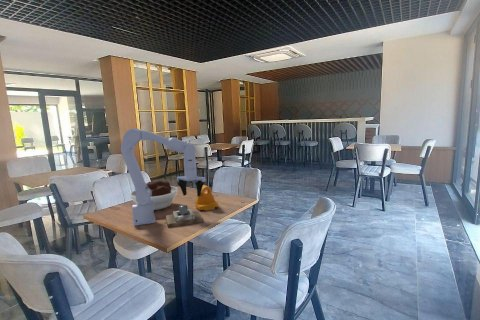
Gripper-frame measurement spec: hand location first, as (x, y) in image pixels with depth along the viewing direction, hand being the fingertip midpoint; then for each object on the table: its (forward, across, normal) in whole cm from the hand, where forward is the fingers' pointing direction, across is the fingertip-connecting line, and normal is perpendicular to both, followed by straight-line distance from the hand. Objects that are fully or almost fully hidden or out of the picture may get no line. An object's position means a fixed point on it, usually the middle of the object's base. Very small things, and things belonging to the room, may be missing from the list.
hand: (192, 195), depth 127 cm
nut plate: (+10, -2, -6) cm, 12 cm away
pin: (+10, -2, -6) cm, 12 cm away
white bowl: (+11, -27, +8) cm, 30 cm away
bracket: (+11, +2, +12) cm, 17 cm away
